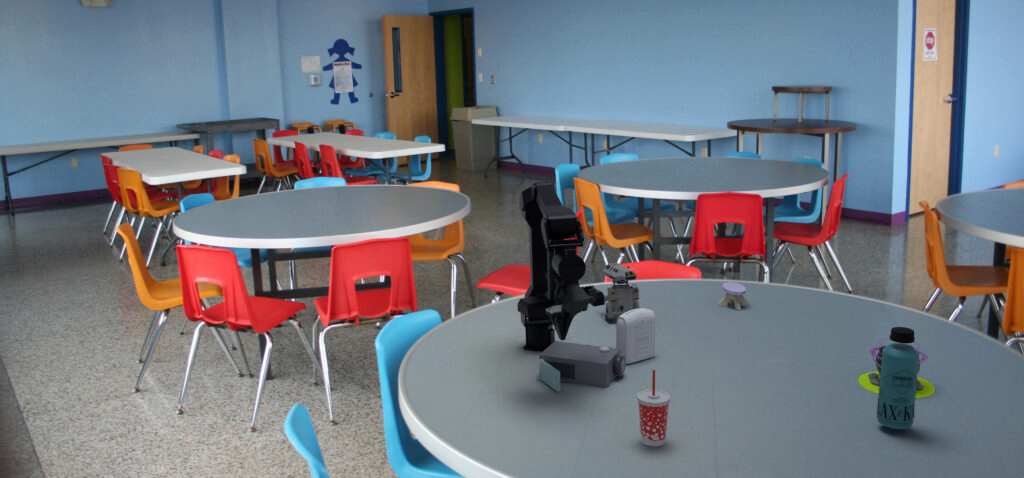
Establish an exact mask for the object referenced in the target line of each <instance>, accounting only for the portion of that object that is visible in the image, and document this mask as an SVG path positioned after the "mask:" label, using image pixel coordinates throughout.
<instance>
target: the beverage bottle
mask: <svg viewBox="0 0 1024 478" xmlns="http://www.w3.org/2000/svg"><path fill="white" fill-rule="evenodd" d="M915 339H916V338H915V331H914V329H912V328H909V327H906V326H905V327H904V326H893V327H891V329H890V334H889V340H890V341H891V342H893V343H890V344H887V345H888V346H886V345H885V346H886V347H885V348H883V350H882V353H883V354H882V365H881V376H880V379H879V380H880V381H879V382H880V385H879V394H878V397H877V399H876V400H877V402H876V403H877V408H876V418H877V422H878V423H879V424H881V425H882V426H884V427H887V428H890V429H895V430H897V429H898V430H906V429H910V428H911V427H912V426H913V424H914V423H915V422H914V421H915V419H914V418H915V407H916V400H917V399H915V396H917V395H916V393H917V392H916V385H917V379H918V378H917V377H918V374H917V372H918V361H919V359H920V353H918V352H919V351H918V349H917V350H916V348H915V347H913V345H910V344H912V343H915ZM918 373H919V372H918Z"/></svg>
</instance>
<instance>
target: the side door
mask: <svg viewBox="0 0 1024 478" xmlns="http://www.w3.org/2000/svg"><path fill="white" fill-rule="evenodd" d="M538 380H539V381H542V382H543V383H545V384H546V385H548V387H551V388H552V389H553V390H555V391H556V392H560V391H561V381H560V371H558V370H557V369H555V368H554V367H553V366H551V365H550V364H548V363H547V362H545V361H544V359H539V358H538Z"/></svg>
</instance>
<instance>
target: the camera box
mask: <svg viewBox="0 0 1024 478" xmlns="http://www.w3.org/2000/svg"><path fill="white" fill-rule="evenodd" d="M539 359H544V361H545V362H547V363H548V364H550V365H551V366H553V367H554V368H555V369H557V370H558V371H560V382H567V383H573V384H578V385H579V384H580V385H584V386H585V385H586V386H594V387H600V388H608V387H609V386H610V385H611V383H612V382H613V381H614V380H615V379H616V378H617V376H620V377H621V376H623V375H624V373H625V370H626V365H627V364H626V360H625V357H624V356H621V355H620V349H617V348H616V347H609V346H601V345H600V346H598V345H593V344H592V345H591V344H582V343H577V342H576V343H575V342H567V341H561V340H560V341H559V340H555V342H554V343H552V344H551V345H550V346H549V347H548V348H547V349H545V350H544V351H541V352H540V354H538V360H539Z"/></svg>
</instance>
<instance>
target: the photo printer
mask: <svg viewBox="0 0 1024 478" xmlns="http://www.w3.org/2000/svg"><path fill="white" fill-rule="evenodd" d="M615 329H616V332H615V333H616V334H615V335H616V336H615V338H616V339H615V345H616V346H615V348H617V349H620V355H621V356H624V357H625V360H626V365H629V364H633V363H636V362H639V361H640V362H641V361H644V360H647V359H651V358H653V357H655V354H656V315H655V313H654V311H653V310H652V309H648V308H646V307H645V308H644V307H642V308H641V307H639V308H638V309H633V310H630V311H628V312H623V313H622V314H621V315H619V316H618V317H617V319H616V328H615Z"/></svg>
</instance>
